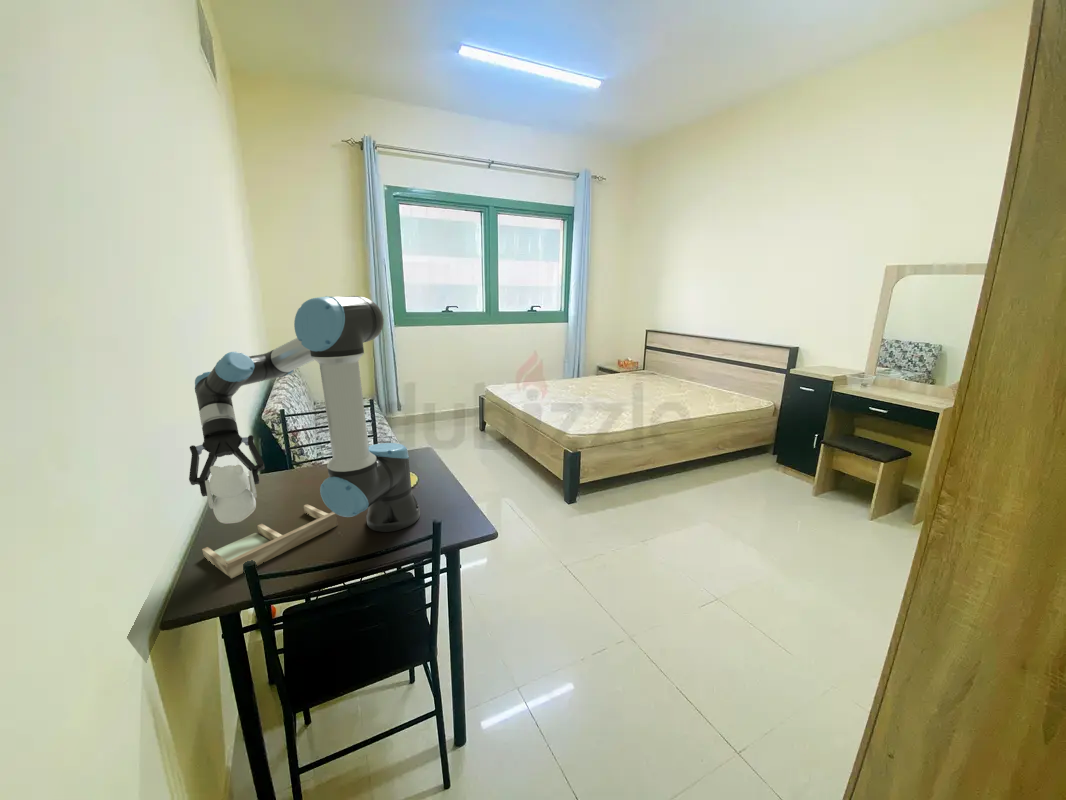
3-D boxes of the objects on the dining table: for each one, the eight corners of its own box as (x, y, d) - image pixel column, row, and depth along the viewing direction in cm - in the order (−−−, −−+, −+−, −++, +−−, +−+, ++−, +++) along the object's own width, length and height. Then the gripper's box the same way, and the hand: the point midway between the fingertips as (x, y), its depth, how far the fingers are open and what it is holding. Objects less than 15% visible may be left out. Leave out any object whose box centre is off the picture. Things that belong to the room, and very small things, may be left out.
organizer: (337, 525, 123) (336, 513, 122) (231, 578, 101) (228, 564, 100) (307, 510, 132) (305, 499, 131) (202, 556, 109) (199, 543, 108)
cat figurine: (206, 530, 103) (195, 473, 99) (230, 505, 114) (221, 453, 111) (247, 527, 104) (238, 471, 101) (267, 502, 116) (260, 451, 112)
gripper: (265, 423, 122) (282, 494, 114) (171, 439, 110) (182, 519, 102) (264, 409, 117) (282, 483, 108) (165, 424, 105) (176, 508, 96)
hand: (233, 500), depth 105 cm, fingers closed on cat figurine, 8 cm apart
